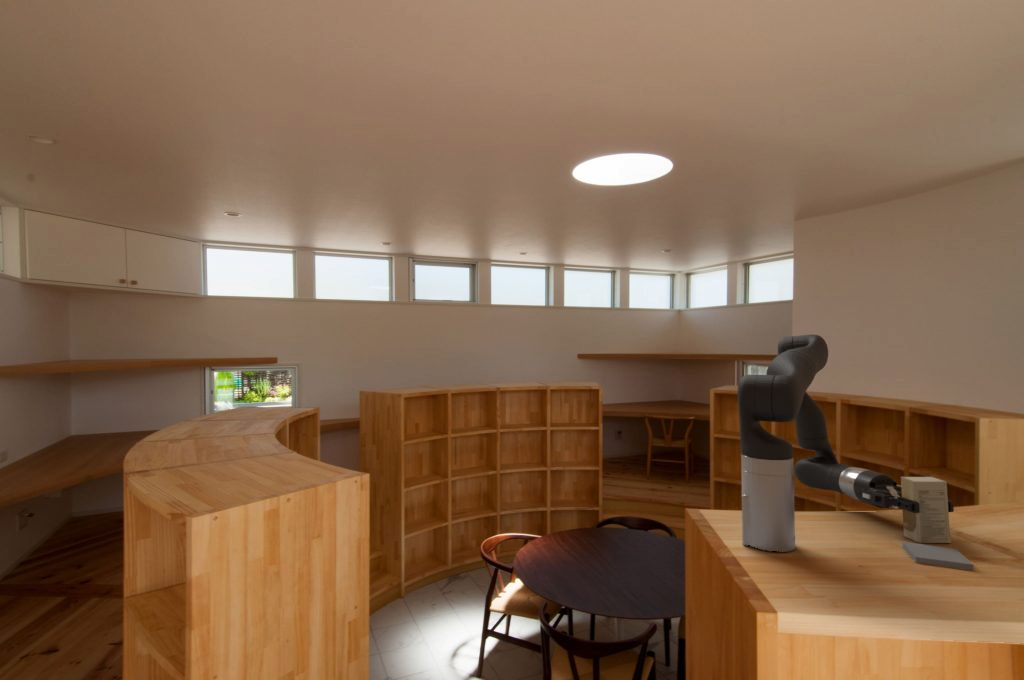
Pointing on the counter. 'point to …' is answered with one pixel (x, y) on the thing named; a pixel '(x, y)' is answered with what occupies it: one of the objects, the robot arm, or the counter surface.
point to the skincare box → (926, 510)
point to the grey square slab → (937, 556)
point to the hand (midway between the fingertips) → (934, 507)
